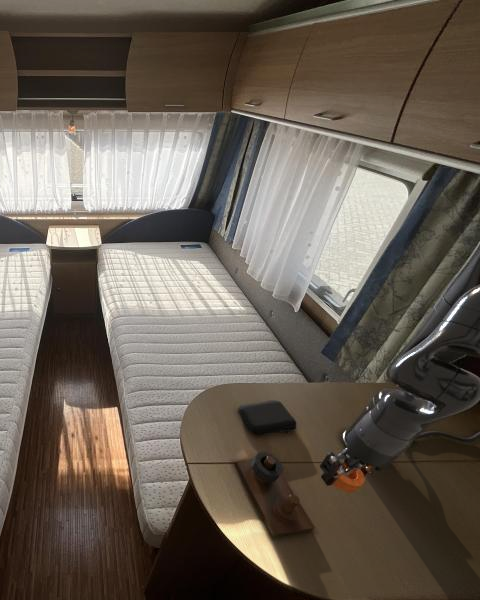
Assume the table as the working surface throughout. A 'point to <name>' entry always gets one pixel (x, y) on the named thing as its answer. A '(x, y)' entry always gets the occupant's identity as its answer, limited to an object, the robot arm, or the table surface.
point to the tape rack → (274, 500)
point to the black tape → (264, 473)
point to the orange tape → (350, 481)
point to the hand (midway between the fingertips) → (339, 479)
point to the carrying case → (267, 417)
